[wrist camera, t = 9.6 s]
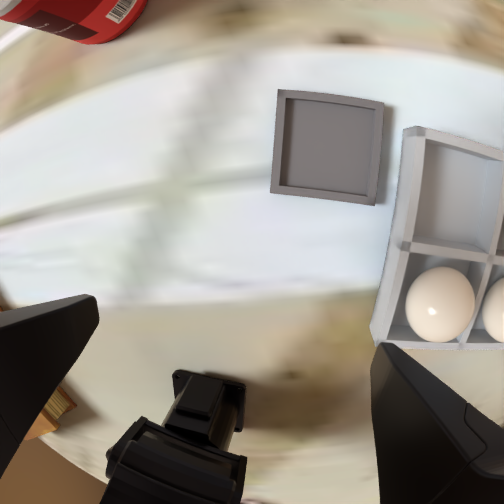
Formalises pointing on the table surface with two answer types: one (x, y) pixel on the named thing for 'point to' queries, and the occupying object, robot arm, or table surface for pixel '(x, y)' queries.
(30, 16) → the canned food
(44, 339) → the robot arm
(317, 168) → the egg dish
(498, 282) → the white egg
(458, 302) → the white egg
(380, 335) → the egg tray
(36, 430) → the diary
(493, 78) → the table surface
